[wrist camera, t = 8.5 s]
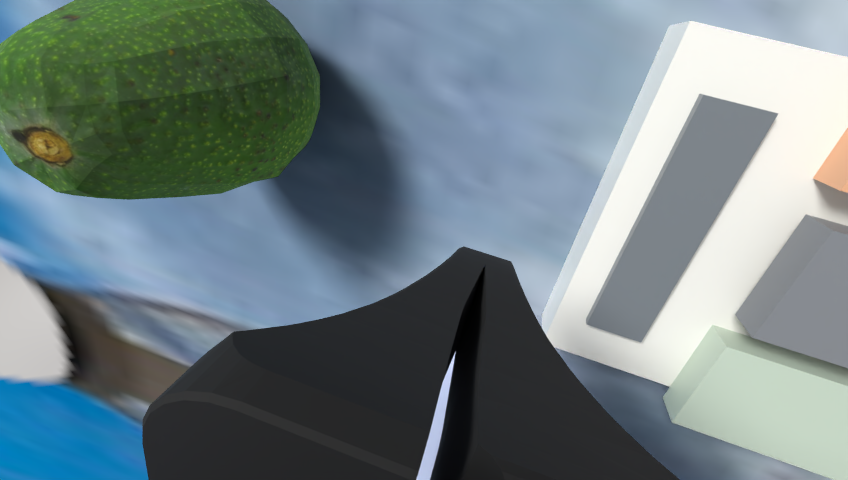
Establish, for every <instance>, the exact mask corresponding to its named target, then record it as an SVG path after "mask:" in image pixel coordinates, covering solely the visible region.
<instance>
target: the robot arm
mask: <svg viewBox="0 0 848 480" xmlns="http://www.w3.org/2000/svg"><path fill="white" fill-rule="evenodd" d="M143 448H144V454H145V460H146V466H147V472H148V478H149V480H679V479H678V478H677V477H676V476H675V475H674V474H672V473H671V472H670V471H669V470H668V469H666V468H665V467H664V466H663V465H662V464H661V463H659V462H658V461H657V460H656V459H655V458H654V457H652V456H651V455H650V454H649V453H648V452H647V451H646V450H645V449H644V448H643V447H642V446H641V445H640V444H639V443H638V442H637V441H636V440H634V439H633V438H632V437H631V436H630V435H629V434H628V433H627V432H626V431H625V430H624V429H623V428H622V427H621V426H620V425H619V424H618V423H617V422H616V421H615V420H614V419H613V418H612V417H611V416H610V415H609V414H608V413H607V412H606V411H605V410H604V409H603V408H602V406H601V405H600V404H599V403H598V402H597V401H596V400H595V399H594V397H593V396H592V395H591V394H590V393H589V392H588V391H587V389H586V388H585V387H584V386H583V385H582V384H581V383H580V381H579V380H578V379H577V378H576V376H575V375H574V374H573V373H572V371H571V370H570V369H569V368H568V366H567V365H566V363H565V362H564V361H563V359H562V358H561V357H560V355H559V354H558V352H557V351H556V350H555V348H554V347H553V345H552V344H551V342H550V341H549V339H548V338H547V336H546V334H545V333H544V331H543V329H542V328H541V326H540V324H539V323H538V321H537V319H536V317H535V315H534V313H533V311H532V309H531V307H530V305H529V303H528V301H527V299H526V296H525V294H524V292H523V290H522V287H521V285H520V282H519V280H518V277H517V275H516V272H515V269H514V267H513V265H512V263H511V261H508V260H504V259H501V258H498V257H495V256H492V255H489V254H486V253H482V252H479V251H476V250H473V249H470V248H467V247H461V248H459V249H458V250H457V251H456V252H455V253H454V254H453V255H452V256H451V257H450V258H449V259H447V260H446V261H445V262H444V263H442V264H441V265H440V266H438V267H437V268H436V269H434V270H433V271H432V272H430V273H429V274H427V275H426V276H424V277H423V278H421V279H420V280H418V281H416V282H415V283H413V284H411V285H410V286H408V287H406V288H404V289H403V290H401V291H399V292H397V293H395V294H393V295H391V296H389V297H387V298H384V299H382V300H380V301H378V302H375V303H373V304H370V305H367V306H364V307H361V308H358V309H355V310H352V311H349V312H346V313H343V314H339V315H335V316H331V317H327V318H323V319H319V320H314V321H309V322H304V323H299V324H293V325H287V326H279V327H271V328H263V329H255V330H247V331H236V332H233V333H231V334H230V335H229V336H228V337H227V338H225V339H224V340H223V341H221V342H220V343H219V344H217V345H216V346H215V347H213V348H212V349H211V350H209V351H208V352H207V353H206V354H205V355H204V356H203V357H201V358H200V359H199V360H198V361H197V362H196V363H195V364H194V365H193V366H191V367H190V368H189V369H188V370H187V371H186V372H185V373H184V374H183V375H182V376H181V377H180V378H179V379H178V380H176V381H175V382H174V383H173V384H172V385H171V386H170V387H169V388H168V389H167V390H166V391H165V392H164V393H163V394H161V395H160V396H159V397H158V398H157V399H156V400H155V401H154V402H153V403H152V404H151V405H150V406H149V408H148V410H147V412H146V414H145V416H144V418H143Z"/></svg>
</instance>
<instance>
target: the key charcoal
mask: <svg viewBox="0 0 848 480" xmlns="http://www.w3.org/2000/svg"><path fill="white" fill-rule="evenodd" d="M735 315H736V317H737V318H738V319H739V321H740V322H741V323H742V325H743V326H744V327H745V329H746V330H747V331H748V333H749V334H750V335H751V337H752V338H755V339H758V340H761V341H764V342H767V343H770V344H773V345H777V346H780V347H783V348H786V349H789V350H792V351H795V352H798V353H802V354H805V355H808V356H811V357H814V358H817V359H820V360H823V361H827V362H830V363H833V364H836V365H839V366H842V367H845V368H848V226H846V225H843V224H839V223H835V222H832V221H828V220H825V219H821V218H817V217H814V216H810V215H807V214H806V215H805V216H804V218H803V219H802V220H801V222H800V223H799V225H798V226H797V227H796V229H795V230H794V232H793V233H792V235H791V236H790V237H789V239H788V240H787V242H786V243H785V244H784V246H783V247H782V249H781V250H780V252H779V253H778V254H777V256H776V257H775V259H774V260H773V261H772V263H771V264H770V266H769V267H768V269H767V270H766V271H765V273H764V274H763V276H762V277H761V278H760V280H759V281H758V283H757V284H756V285H755V287H754V288H753V290H752V291H751V293H750V294H749V295H748V297H747V298H746V300H745V301H744V302H743V304H742V305H741V307H740V308H739V310H738V311H737V312H736V314H735Z"/></svg>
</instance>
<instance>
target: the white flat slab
mask: <svg viewBox="0 0 848 480" xmlns="http://www.w3.org/2000/svg"><path fill="white" fill-rule="evenodd" d="M847 128H848V57H845V56H841V55H836V54H832V53H828V52H823V51H819V50H815V49H810V48H806V47H802V46H797V45H793V44H789V43H784V42H780V41H776V40H771V39H767V38H763V37H758V36H754V35H750V34H745V33H741V32H737V31H732V30H728V29H724V28H719V27H715V26H711V25H706V24H702V23H698V22H693V21H687V22H683V23H678V24H674V25H669V27H668V29H667V32H666V34H665V36H664V38H663V41H662V43H661V45H660V48H659V50H658V52H657V54H656V57H655V59H654V61H653V63H652V66H651V68H650V70H649V73H648V75H647V77H646V79H645V82H644V84H643V86H642V88H641V91H640V93H639V95H638V98H637V100H636V102H635V104H634V107H633V109H632V111H631V113H630V116H629V118H628V120H627V122H626V125H625V127H624V129H623V132H622V134H621V136H620V138H619V141H618V143H617V145H616V147H615V150H614V152H613V154H612V157H611V159H610V161H609V163H608V166H607V168H606V170H605V172H604V175H603V177H602V179H601V181H600V184H599V186H598V188H597V191H596V193H595V195H594V197H593V200H592V202H591V204H590V206H589V209H588V211H587V213H586V216H585V218H584V220H583V222H582V225H581V227H580V229H579V231H578V234H577V236H576V238H575V241H574V243H573V245H572V247H571V250H570V252H569V254H568V256H567V259H566V261H565V263H564V265H563V268H562V270H561V272H560V275H559V277H558V279H557V281H556V284H555V286H554V288H553V290H552V293H551V295H550V297H549V300H548V302H547V304H546V306H545V309H544V311H543V313H542V329H543V331H544V333H545V334H546V336H547V338H548V339H549V341H550V342H551V344H552V345H553V347H555V348H558V349H561V350H564V351H567V352H570V353H573V354H576V355H579V356H581V357H584V358H587V359H590V360H593V361H596V362H599V363H602V364H605V365H608V366H611V367H614V368H617V369H619V370H622V371H625V372H628V373H631V374H634V375H637V376H640V377H643V378H646V379H649V380H652V381H655V382H657V383H660V384H663V385H666V386H669V387H670V386H671V384H672V383H673V382H674V380H675V379H676V377H677V376H678V374H679V373H680V371H681V370H682V368H683V367H684V365H685V364H686V363H687V361H688V360H689V358H690V357H691V355H692V354H693V352H694V351H695V349H696V348H697V346H698V345H699V344H700V342H701V341H702V339H703V338H704V336H705V335H706V333H707V332H708V330H709V329H710V328H711V326H712V325H715V326H719V327H722V328H725V329H728V330H731V331H734V332H737V333H740V334H744V335H747V336H750V337H751V335H750V334H749V333H748V331H747V330H746V329H745V327H744V326H743V325H742V323H741V322H740V321H739V319H738V318H737V317H736V315H735V314H736V312H737V311H738V310H739V308H740V307H741V305H742V304H743V302H744V301H745V300H746V298H747V297H748V295H749V294H750V293H751V291H752V290H753V288H754V287H755V285H756V284H757V283H758V281H759V280H760V278H761V277H762V276H763V274H764V273H765V271H766V270H767V269H768V267H769V266H770V264H771V263H772V261H773V260H774V259H775V257H776V256H777V254H778V253H779V252H780V250H781V249H782V247H783V246H784V244H785V243H786V242H787V240H788V239H789V237H790V236H791V235H792V233H793V232H794V230H795V229H796V227H797V226H798V225H799V223H800V222H801V220H802V219H803V218H804V216H805V215H806V214H807V215H810V216H814V217H817V218H821V219H825V220H828V221H832V222H835V223H839V224H843V225H846V226H848V193H847V192H843V191H840V190H837V189H835V188H833V187H831V186H829V185H826V184H824V183H822V182H820V181H818V180H815V179H813V177H814V176H815V174H816V173H817V171H818V170H819V168H820V167H821V166H822V164H823V163H824V161H825V160H826V158H827V157H828V155H829V154H830V152H831V151H832V149H833V148H834V147H835V145H836V144H837V142H838V141H839V139H840V138H841V136H842V135H843V133H844V132H845V130H846V129H847Z"/></svg>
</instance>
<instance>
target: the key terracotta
mask: <svg viewBox="0 0 848 480" xmlns="http://www.w3.org/2000/svg"><path fill="white" fill-rule="evenodd" d="M813 179H815V180H818V181H820V182H822V183H824V184H826V185H829V186H831V187H833V188H835V189H837V190H840V191H843V192H847V193H848V128H847V129H846V130H845V132H844V133H843V135H842V136H841V138H840V139H839V141H838V142H837V144H836V145H835V147H834V148H833V149H832V151H831V152H830V154H829V155H828V157H827V158H826V160H825V161H824V163H823V164H822V166H821V167H820V168H819V170H818V171H817V173H816V174H815V176H814V177H813Z"/></svg>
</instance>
